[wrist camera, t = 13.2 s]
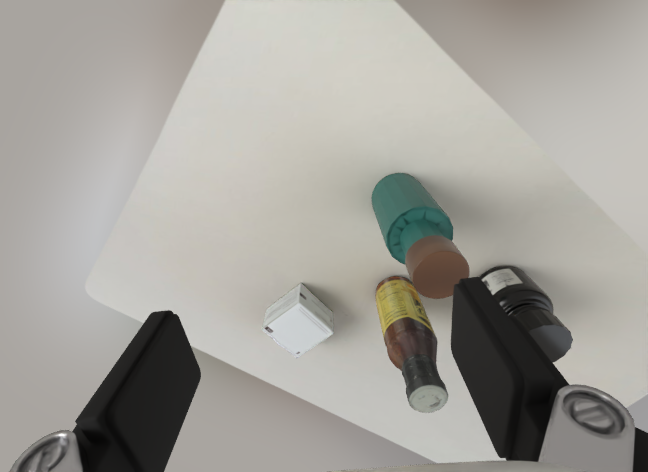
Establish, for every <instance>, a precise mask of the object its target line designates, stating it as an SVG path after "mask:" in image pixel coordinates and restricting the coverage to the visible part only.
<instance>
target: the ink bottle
mask: <svg viewBox="0 0 648 472" xmlns="http://www.w3.org/2000/svg"><path fill="white" fill-rule="evenodd" d="M479 278H480V279H481V280H482V281H483V282H484V284H485V285H486V286H487V288H488V289H489V291H490V292H491V293H492V295H493V296H494V297H495V299H496V300H497V301H498V303H499V304H500V305H501V307H502V308H503V309H504V311H505V312H506V313H507V315H514V316H516V317H517V318H518V319H519V321H520V322H521V323H522V324H523V326H524V327H525V328H526V330H527V331H528V332H529V333H530V335H531V336H532V337H533V339H534V340H535V341H536V342H537V344H538V345H539V346H540V348H541V349H542V350H543V351H544V353H545V354H546V355H547V357H548V358H549V359H550V361H551V362H555V361H557V360H558V359H560V358H561V357H563V356H564V355H565V354H566V352H567V351H568V350H569V349H570V348H571V343H572V341H573V339H572V336H571V332H570V331H569V330H568V329H567V328H566V327H565V326H564V325H563V324H562V323H561V322H560V320H559V319H558V318H557V317H556V316H554V315H553V304H552V302H551V300H550V298H549V297H548V296H547V295H546V294H545V293H544V292H543V291H542V290H541V289H540V288H539V287H538V285H537V284H536V283H535V282H534V281H533V280H532V279H531V278H530V277H529V276H528V275H527V274H526V273H525V272H523V271H522V270H520V269H518V268H515V267H510V266H500V267H495V268H492V269H490V270H488V271H487V272H485V273H484V274H482V275H481V276H480V277H479Z"/></svg>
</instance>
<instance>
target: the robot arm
mask: <svg viewBox="0 0 648 472" xmlns="http://www.w3.org/2000/svg"><path fill="white" fill-rule="evenodd" d="M451 350H452V354H453V357H454V359H455V361H456V364H457V366H458V368H459V370H460V372H461V375H462V377H463V379H464V381H465V384H466V386H467V388H468V390H469V392H470V395H471V397H472V399H473V401H474V404H475V406H476V408H477V410H478V412H479V415H480V417H481V419H482V421H483V424H484V426H485V428H486V430H487V432H488V435H489V437H490V439H491V441H492V444H493V446H494V448H495V450H496V452H497V454H498V456H499V457H500V458H506V460H507V461H476V462H458V463H440V464H424V465H412V466H411V465H410V466H398V467H397V466H396V467H384V468H370V469H355V470H341V471H329V472H648V433H646V432H644V431H642V430H640V429H638V428H636V427H635V425H634V421H633V418H632V416H631V415H630V413H629V411H628V410H627V409H626V408H625V407H624V406H623V405H622V404H621V403H620V402H619V401H618V400H616V399H615V398H613V397H612V396H610V395H609V394H607V393H605V392H603V391H601V390H599V389H596V388H593V387H589V386H586V385H569V384H568V382H567V381H566V380H565V379H564V377H563V376H562V375H561V373H560V372H559V371H558V370H557V368H556V367H555V366H554V364H553V363H552V362H551V361H550V359H549V358H548V357H547V355H546V354H545V353H544V351H543V350H542V349H541V348H540V346H539V345H538V344H537V342H536V341H535V340H534V339H533V337H532V336H531V335H530V333H529V332H528V331H527V330H526V328H525V327H524V326H523V324H522V323H521V322H520V321H519V319H518V318H517V317H516V316H514V315H507V313H506V312H505V311H504V309H503V308H502V307H501V305H500V304H499V303H498V301H497V300H496V299H495V297H494V296H493V295H492V293H491V292H490V291H489V289H488V288H487V286H486V285H485V284H484V282H483V281H482V280H481V279H480V278H479V277H473V278H464V279H460V281H459V284H454V291H453V312H452V333H451ZM200 377H201V372H200V368H199V366H198V364H197V361H196V359H195V356H194V353H193V351H192V348H191V346H190V343H189V341H188V339H187V336H186V334H185V331H184V329H183V326H182V324H181V321H180V319H179V317H178V315H177V314H173V312H172V311H169V310H168V311H159V312H153V313H151V314H150V315H149V317H148V318H147V320H146V321H145V323H144V324H143V325H142V327H141V328H140V330H139V331H138V333H137V334H136V336H135V337H134V338H133V340H132V341H131V343H130V344H129V345H128V347H127V348H126V350H125V351H124V353H123V354H122V355H121V357H120V358H119V360H118V361H117V362H116V364H115V365H114V367H113V368H112V370H111V371H110V372H109V374H108V375H107V377H106V378H105V380H104V381H103V382H102V384H101V385H100V387H99V388H98V390H97V391H96V392H95V394H94V395H93V397H92V398H91V400H90V401H89V403H88V404H87V405H86V407H85V408H84V410H83V411H82V412H81V414H80V415H79V417H78V418H77V419H76V421H75V422H76V423H77V425H76V427H75V429H74V430H73V431H72V432H71V431H69V430H61V431H57V432H54V433H51V434H49V435H47V436H45V437H43V438H41V439H40V440H38V441H37V442H35V443H34V444H32V445H31V446H30V447H29V448H28V449H27V450H25V451H24V452H23V453H22V454H21V456H20V457H19V458H18V459H17V460H16V461H15V463H14V465H13V466H12V468H11V470H10V472H164V470H165V467H166V465H167V462H168V460H169V457H170V455H171V452H172V450H173V447H174V445H175V442H176V440H177V437H178V435H179V432H180V429H181V427H182V424H183V422H184V419H185V417H186V414H187V412H188V409H189V407H190V404H191V402H192V399H193V397H194V394H195V392H196V389H197V386H198V383H199V381H200Z"/></svg>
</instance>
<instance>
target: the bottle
mask: <svg viewBox="0 0 648 472" xmlns="http://www.w3.org/2000/svg"><path fill="white" fill-rule="evenodd" d="M372 205H373V209H374V212H375V215H376V218H377V220H378V223H379V226H380V229H381V232H382V235H383V237H384V240H385V243H386V246H387V248H388V250H389V252H390V254H391V255H392V257H393V258H395V259H396V260H398V261H399V262H400V263H402V264H405V258H406V254H407V252H408V250H409V248H410V247H411V246H412V245H413V244H414V243H415V242H416V241H418V240H419V239H421V238H424V237H427V236H432V235H438V236H443V237H446V238H448V239H449V240H451V241H452V239H453V226H452V224H451V222H450V219H449V217H448V216H447V215H446V214H445V212H444V211H443V210H442V209H441V208H440V206H439V205H438V204H437V203H436V202H435V200H434V199H433V198H432V197H431V196H430V195H429V193H428V192H427V191H426V190H425V189H424V187H423V186H422V185H421V184H420V183H419V182H418V181H417V180H416V179H415V178H414V177H412V176H410V175H408V174H404V173H395V174H391V175H388V176H386V177H385V178H383V179H382V180H381V181H380V182H379V183H378V184H377V185H376V187H375V188H374V191H373V194H372Z"/></svg>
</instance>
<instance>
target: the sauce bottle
mask: <svg viewBox="0 0 648 472" xmlns="http://www.w3.org/2000/svg"><path fill="white" fill-rule="evenodd" d="M376 304H377V309H378V313H379V318H380V323H381V327H382V332H383V336H384V341H385V344H386V346H387V352H388V355H389V358H390V360H391V361H392V363H393V364H394V365H395V366H396V367H397V368H398V369H400V370H401V371H402V375H403V377H404V379H405V383H406V394H407V398H408V401H409V404H410V406H411V407H412V408H413V409H414V410H416V411H419V412H422V413H430V412H434V411H437V410H439V409H441V408H442V407H443V406H444V405H445V404H446V402H447V400H448V393H447V391H446V387H445V384H444V383H443V381H442V380H441V379H440V376H439V374H438V371H437V366H436V354H437V338H436V336H435V333H434V331H433V329H432V326H431V324H430V322H429V319H428V317H427V315H426V312H425V310H424V307H423V305H422V303H421V301H420V298H419V296H418V293H417V291H416V289H415V287H414V286H413V285H412V284H411V283H410V281H409V280H408V279H406V278H403V277H396V276H394V277H389V278H387V279H385V280H383V281H382V282H381V283H379V284H378V287H377V289H376Z"/></svg>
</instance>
